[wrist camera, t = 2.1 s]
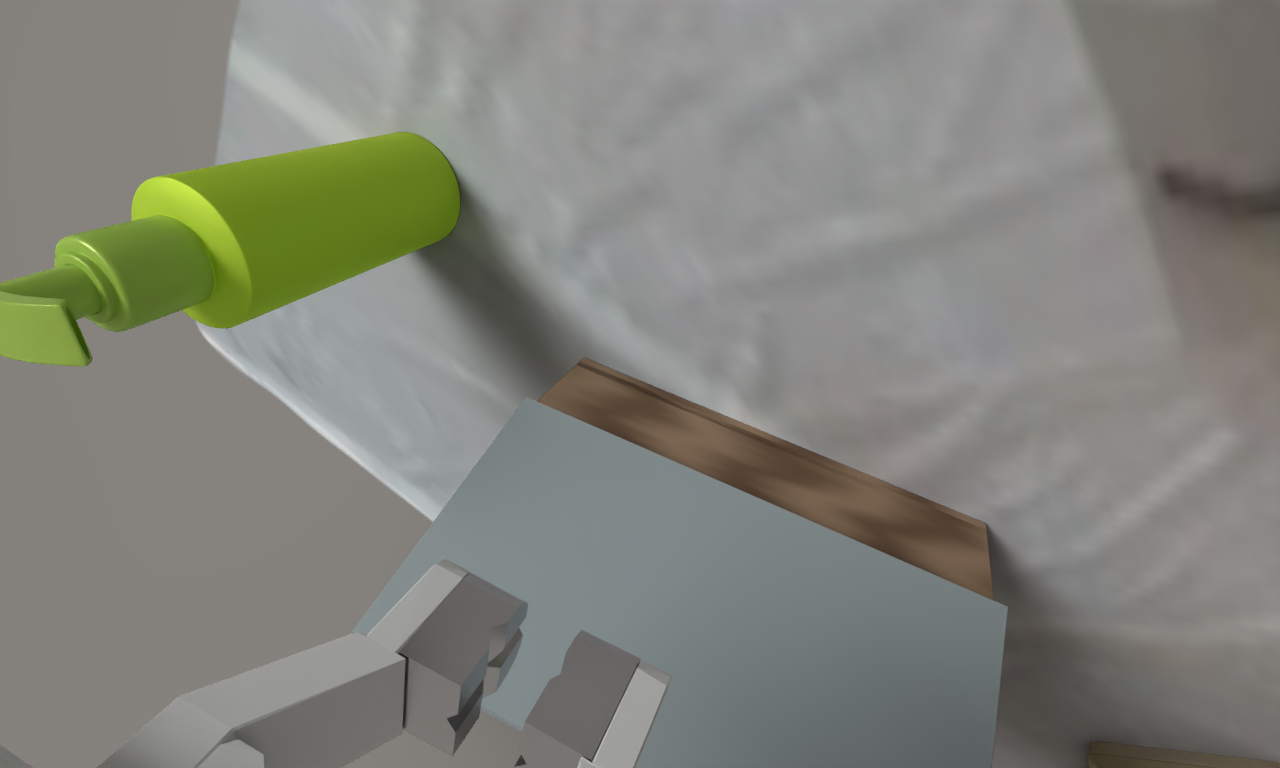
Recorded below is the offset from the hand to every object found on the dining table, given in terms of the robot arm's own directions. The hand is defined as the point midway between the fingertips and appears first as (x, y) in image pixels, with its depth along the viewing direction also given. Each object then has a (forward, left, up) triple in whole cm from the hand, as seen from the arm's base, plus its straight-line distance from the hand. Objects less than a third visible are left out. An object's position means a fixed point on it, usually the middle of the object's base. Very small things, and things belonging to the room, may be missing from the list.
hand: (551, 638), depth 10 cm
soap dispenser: (+20, +4, -23) cm, 31 cm away
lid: (-2, +12, -11) cm, 17 cm away
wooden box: (-2, +16, -23) cm, 28 cm away
